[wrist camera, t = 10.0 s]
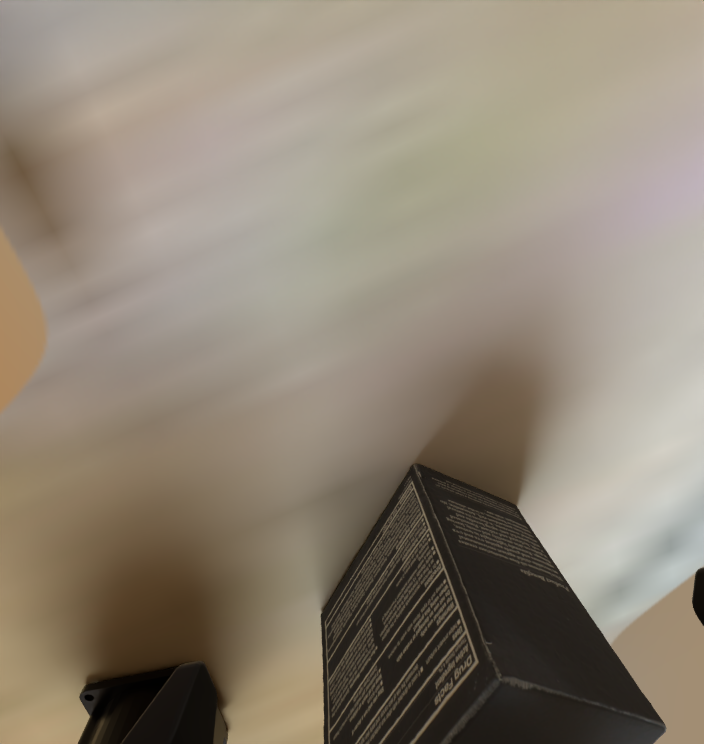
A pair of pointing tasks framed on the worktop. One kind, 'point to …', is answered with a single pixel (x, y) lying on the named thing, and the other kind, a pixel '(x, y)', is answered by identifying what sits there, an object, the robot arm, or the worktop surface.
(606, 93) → the worktop surface
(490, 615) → the small box
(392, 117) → the worktop surface
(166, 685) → the robot arm
